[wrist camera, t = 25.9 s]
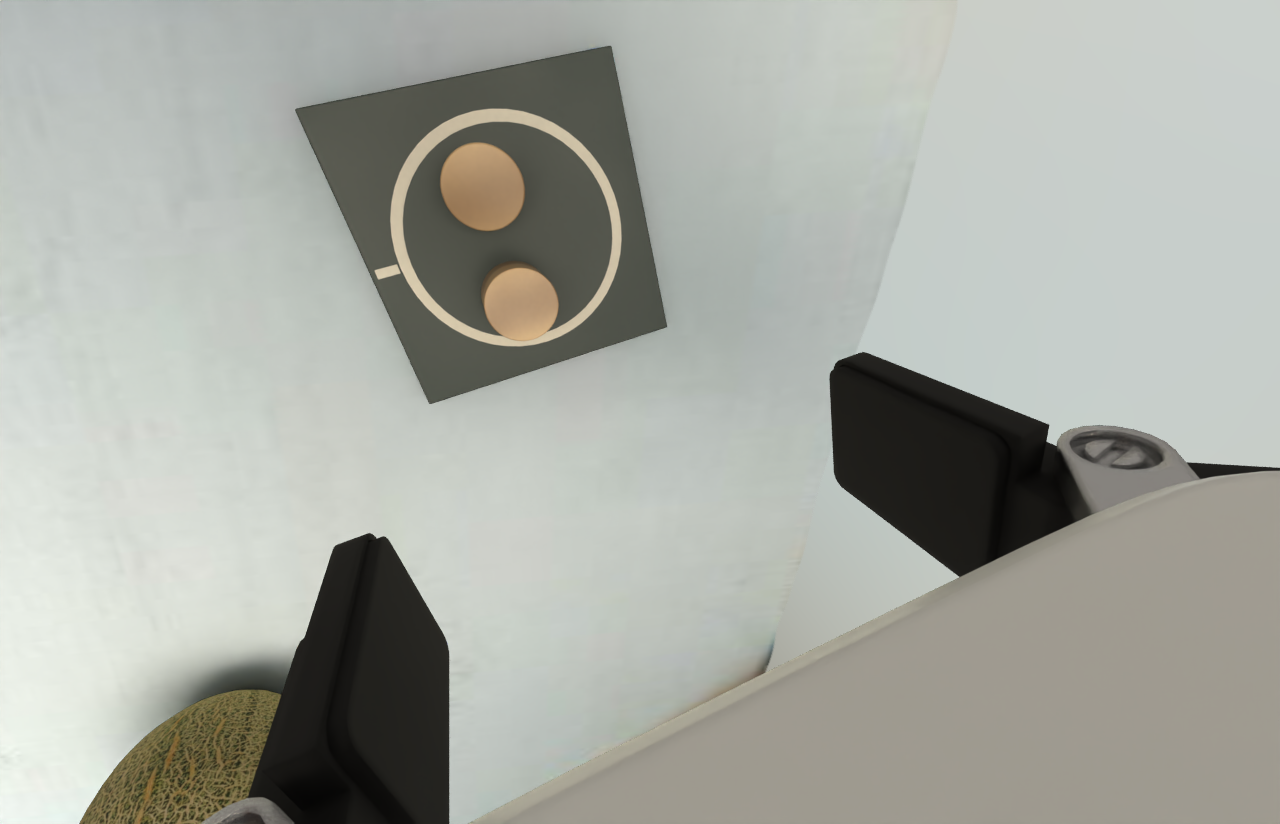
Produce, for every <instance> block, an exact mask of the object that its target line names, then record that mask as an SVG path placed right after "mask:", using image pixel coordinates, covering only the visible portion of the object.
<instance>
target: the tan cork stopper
mask: <svg viewBox="0 0 1280 824" xmlns="http://www.w3.org/2000/svg"><path fill="white" fill-rule="evenodd" d="M481 300H482V304H483V307H484V311H485V314H486V317H487V319H488V321H489V323H490V325H491V326H492V327H493V328H494V329H495V330H496V331H497V332H498V333H499V334H501V335H502V336H504V337H506V338H508V339H511V340H515V341H529V340H533V339H536V338H538V337H540V336H542V335H543V334H545V333H546V332H547V331H548V330H549V329H550V328H551V327H552V325H553V324H554V322H555V320H556V317H557V314H558V308H559V302H558V296H557V293H556V290H555V288H554V286H553V285H552V283H551V282H550V281H549V280H548V279H547V278H546V277H545V276H544V275H543V274H542V273H541V272H540V271H539V270H537V269H536V268H535V267H533V266H532V265H530V264H528V263H525V262H521V261H508V262H504V263H501V264H499V265H497V266H495V267H494V268H493V269H492V270H491V271H489V273H488V274H487V275H486V277H485V279H484V281H483V284H482V287H481Z"/></svg>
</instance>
